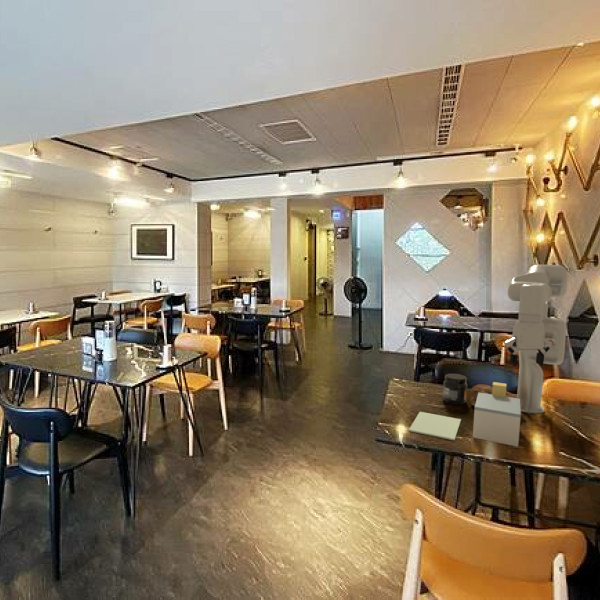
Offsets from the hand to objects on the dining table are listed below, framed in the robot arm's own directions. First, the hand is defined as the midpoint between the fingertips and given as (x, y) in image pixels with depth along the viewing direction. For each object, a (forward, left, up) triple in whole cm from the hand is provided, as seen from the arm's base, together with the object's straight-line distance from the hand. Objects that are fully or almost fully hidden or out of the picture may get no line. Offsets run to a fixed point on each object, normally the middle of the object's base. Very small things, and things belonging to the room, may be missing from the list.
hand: (526, 364), depth 151 cm
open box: (-4, -9, -30) cm, 31 cm away
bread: (-30, -10, -30) cm, 44 cm away
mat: (+1, -31, -30) cm, 43 cm away
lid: (-5, -9, -20) cm, 22 cm away
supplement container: (-33, -28, -30) cm, 52 cm away
